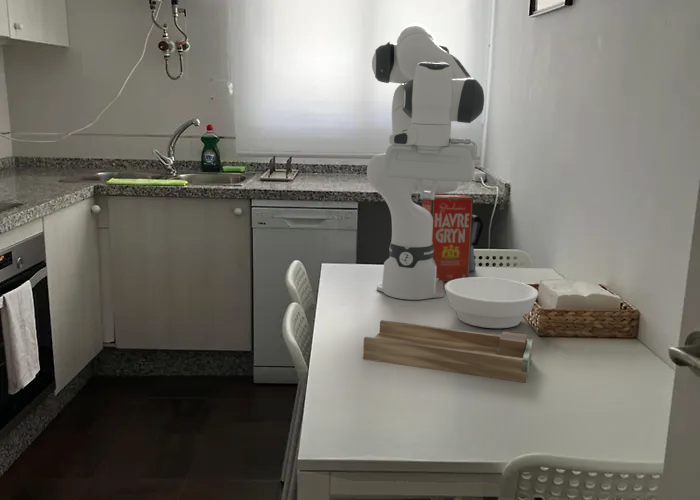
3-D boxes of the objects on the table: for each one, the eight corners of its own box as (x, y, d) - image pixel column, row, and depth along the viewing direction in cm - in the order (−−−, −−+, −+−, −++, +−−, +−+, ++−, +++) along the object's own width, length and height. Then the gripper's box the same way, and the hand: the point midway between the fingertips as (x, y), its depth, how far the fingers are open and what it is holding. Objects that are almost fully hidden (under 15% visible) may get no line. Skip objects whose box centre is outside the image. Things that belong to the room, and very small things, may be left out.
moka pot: (454, 263, 234) (457, 203, 229) (491, 272, 222) (495, 209, 218) (434, 266, 228) (437, 205, 223) (471, 276, 216) (475, 212, 212)
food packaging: (428, 282, 205) (431, 196, 202) (417, 276, 214) (420, 194, 211) (470, 281, 209) (474, 196, 205) (458, 275, 218) (462, 194, 214)
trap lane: (380, 339, 158) (381, 320, 157) (531, 359, 148) (532, 339, 147) (363, 358, 146) (363, 338, 145) (525, 382, 136) (527, 360, 135)
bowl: (423, 317, 175) (425, 285, 173) (482, 302, 189) (484, 272, 188) (496, 343, 158) (498, 307, 157) (554, 324, 173) (557, 291, 171)
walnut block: (501, 349, 148) (502, 331, 147) (525, 353, 147) (527, 334, 146) (498, 357, 144) (499, 339, 143) (523, 361, 142) (524, 342, 141)
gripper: (479, 138, 155) (475, 200, 158) (390, 134, 161) (387, 194, 164) (475, 140, 149) (471, 204, 152) (382, 135, 156) (380, 198, 159)
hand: (427, 199), depth 158 cm, fingers closed
